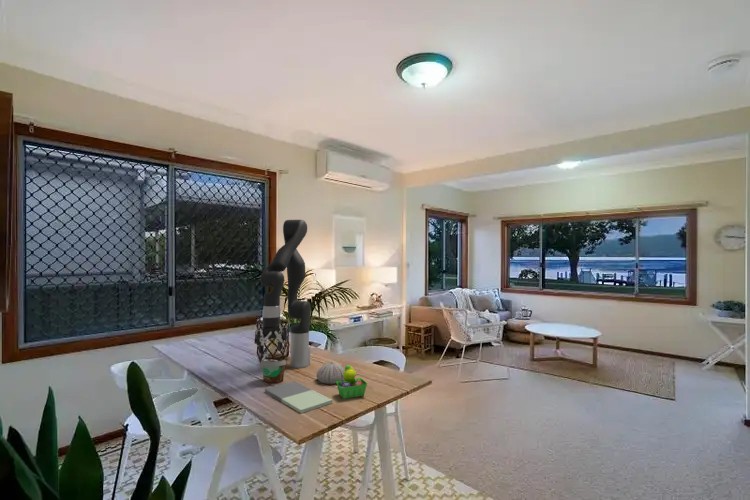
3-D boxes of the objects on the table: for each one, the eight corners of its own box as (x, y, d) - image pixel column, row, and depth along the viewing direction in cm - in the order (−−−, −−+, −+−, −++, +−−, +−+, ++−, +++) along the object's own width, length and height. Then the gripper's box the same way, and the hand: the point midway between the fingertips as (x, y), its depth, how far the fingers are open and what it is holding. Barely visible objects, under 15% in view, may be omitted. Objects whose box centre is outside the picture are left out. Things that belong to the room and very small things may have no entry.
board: (294, 383, 161) (294, 381, 161) (332, 403, 140) (332, 399, 141) (264, 391, 151) (264, 388, 151) (300, 413, 131) (300, 410, 131)
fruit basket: (341, 400, 143) (341, 371, 143) (334, 392, 151) (334, 365, 151) (367, 396, 148) (368, 368, 148) (360, 389, 156) (360, 362, 156)
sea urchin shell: (346, 385, 160) (346, 367, 160) (315, 386, 159) (315, 367, 159) (346, 375, 173) (346, 358, 173) (317, 376, 172) (317, 359, 172)
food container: (254, 382, 162) (254, 359, 162) (263, 378, 168) (263, 356, 168) (277, 386, 158) (277, 363, 158) (285, 382, 163) (286, 359, 163)
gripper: (281, 313, 171) (280, 348, 170) (252, 316, 161) (251, 353, 161) (289, 315, 165) (288, 351, 165) (260, 318, 156) (259, 356, 155)
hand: (270, 352), depth 163 cm, fingers open, 8 cm apart
